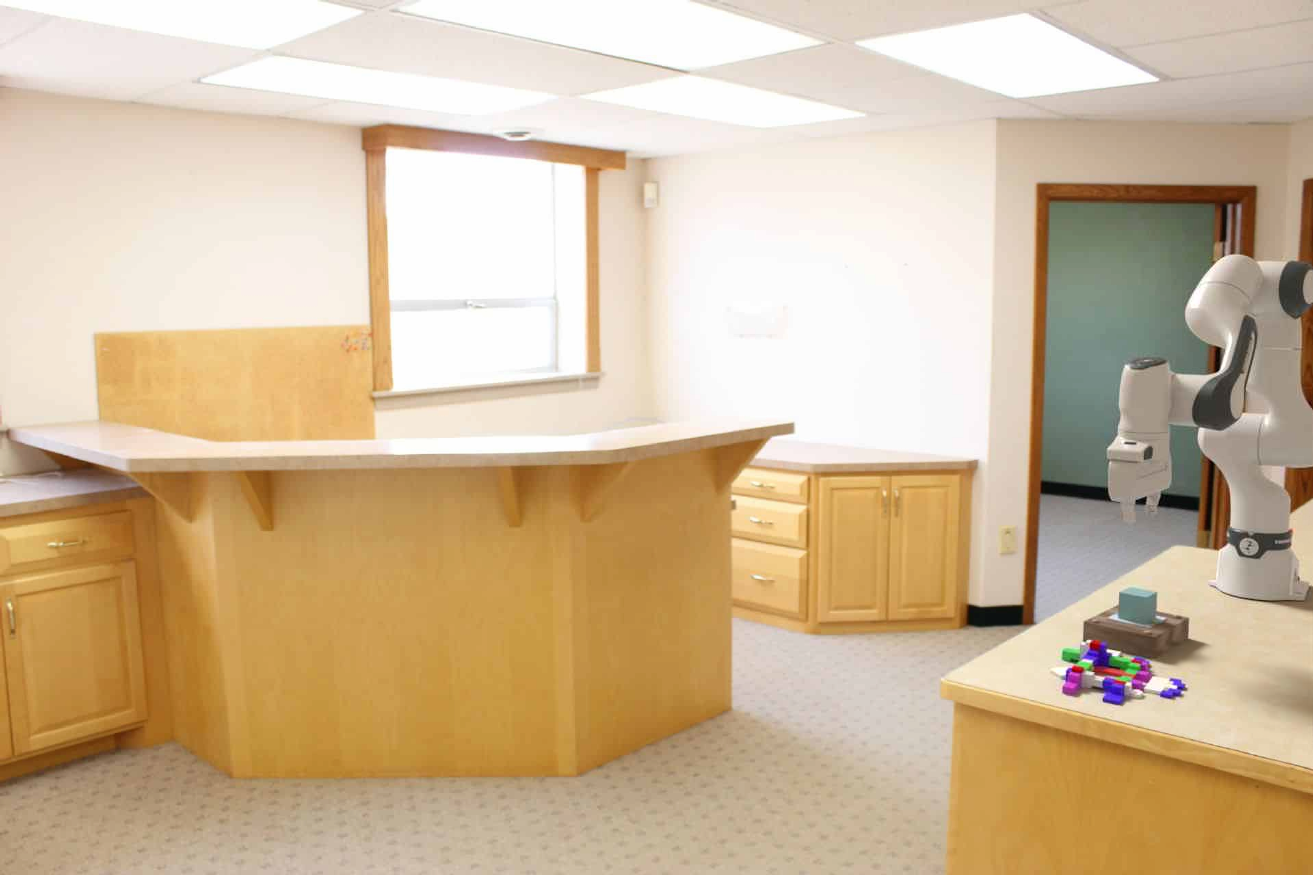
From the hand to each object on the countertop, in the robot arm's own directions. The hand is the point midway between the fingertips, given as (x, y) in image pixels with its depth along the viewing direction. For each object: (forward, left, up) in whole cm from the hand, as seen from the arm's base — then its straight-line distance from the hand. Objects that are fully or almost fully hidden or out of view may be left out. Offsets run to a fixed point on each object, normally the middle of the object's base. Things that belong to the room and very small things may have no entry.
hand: (1140, 518), depth 197 cm
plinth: (+1, +1, -23) cm, 23 cm away
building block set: (+23, +7, -24) cm, 34 cm away
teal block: (+1, +1, -19) cm, 19 cm away
